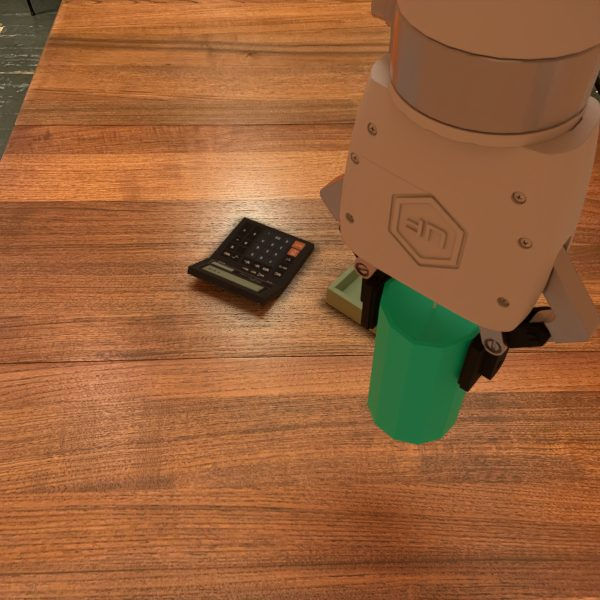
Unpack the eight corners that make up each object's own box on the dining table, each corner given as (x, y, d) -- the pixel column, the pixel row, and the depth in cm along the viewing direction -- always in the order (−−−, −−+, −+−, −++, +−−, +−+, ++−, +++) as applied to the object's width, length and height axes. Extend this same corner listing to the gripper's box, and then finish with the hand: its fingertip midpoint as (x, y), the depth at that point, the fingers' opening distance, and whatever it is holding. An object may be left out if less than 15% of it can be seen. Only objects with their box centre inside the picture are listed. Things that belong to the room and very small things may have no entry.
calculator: (314, 249, 76) (314, 230, 73) (263, 319, 69) (262, 301, 67) (244, 222, 78) (243, 203, 76) (189, 287, 72) (186, 268, 70)
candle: (477, 417, 43) (523, 298, 33) (402, 461, 41) (429, 347, 32) (421, 353, 46) (449, 228, 37) (349, 390, 44) (360, 269, 35)
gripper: (254, 21, 26) (273, 307, 40) (692, 206, 19) (530, 478, 33) (366, -42, 30) (348, 240, 44) (770, 93, 22) (595, 381, 36)
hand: (426, 340), depth 38 cm, fingers closed on candle, 5 cm apart
